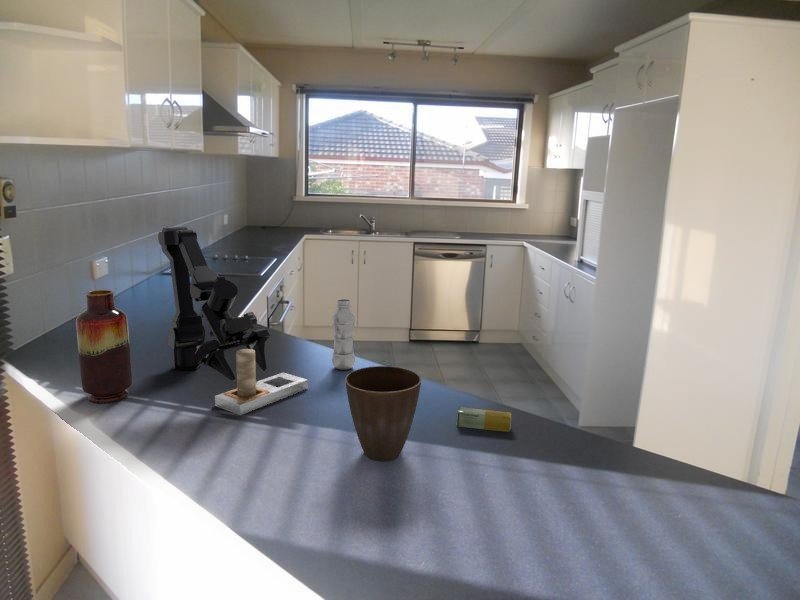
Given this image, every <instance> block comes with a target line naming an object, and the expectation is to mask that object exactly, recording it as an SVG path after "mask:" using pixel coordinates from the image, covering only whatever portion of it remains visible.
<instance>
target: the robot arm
mask: <svg viewBox="0 0 800 600" xmlns="http://www.w3.org/2000/svg"><path fill="white" fill-rule="evenodd" d="M157 236H158V237H157V238H158V244H159V245H160V248H161V251H162V253H163V254H164V255H165V257H167V259H168V260H169V265H170V266H169V267H170V272H171V281H172V289H173V296H174V297H173V298H174V304H175V305H174V306H175V314H174V316H173V319H172V320H171V329H170V330H169V334H168V336H167V344H168V347H170V348H171V349H172V350H173V359H174V366H173V367H172V370H173V371H178V370H179V371H180V370H181V371H183V370H184V371H187V370H190V371H192V370H198V369H199V367H200V366H201V364H203V366H204V367H205V366H206V367H207V366H208V367H209V368H212V369H213V370H215V371H217V372H219V374H222V375H223V376H224V377H225V378H228V379H229V380H230V381H232V382H233V381H235V379H236V376H235V375H234V372H233V370H232V368H231V366H230V364H229V363H228V362H227V359H226V357H225V352H227V351H231V350H235V349H239V348H243V347H246V349H253V350H255V364H256V365H258V366H259V369H261V370H262V371H263V372H266V371H267V360H266V355H265V346H266V344H267V342H268V341H269V339H270V338H271V337H272V335H271V333H270V331H269V330H268V329H266V328H260V329H255V330H253V329H254V326H255V325H257V324H258V319H257V315H256V314H255V313H254V312H253V311H249V312H246V313H244V314H243V316H239V317H236V316H232V315H231V314H230V311H229V310H230V309H231V308H232V305H233V303H234V302H235V299H236V298H237V295H238V291H239V290H238V289H239V288H238V287H237V285H235V283H234V282H233V281H231V280H228V279H226V277H225V276H219V274H218V272H215V271H214V270H213V269H211V268H210V267H209V265H208V263H207V260H206V258H205V255H204V253H203V251H202V249H201V245H200V244H199V241H198V234H197V232H196V231H195V230H193V229H188V227H186V226H182V227H181V226H178V227H177V226H176V227H173V226H172V227H163V228H162V229H161V231H158V234H157ZM190 277H191V278H190ZM194 302H197V303H202V302H204V304H203V305H202V306H201V309H200V315H199V313H197V312H196V311H195V308H194V307H195V306H194ZM203 318H204V319H205V321H206V323H207V324H208V326H209V327H208V328H209V329H210V332H209V333H208V334H209V336H210V337H215V339H212V340H208V341H205V339H206V338H205V336H206V328H205V326H204V324H203ZM249 329H252V331H251V333H249V335H248V336H247V337H244V336H246V334H247V333H248V332H247V331H248V330H249Z"/></svg>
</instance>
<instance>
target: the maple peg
mask: <svg viewBox="0 0 800 600" xmlns="http://www.w3.org/2000/svg"><path fill="white" fill-rule="evenodd" d="M235 360H236V362H235V364H236V365H235V366H236V367H235V368H236V389H237V396H239V397H242V398H245V399H246V398H249V397H251V396H254V395H256V382H257V377H256V376H257V372H256V368H257V367H256V366H257V365H256V361H255V350H253V349H247V348H242V349H238V350H236V351H235Z"/></svg>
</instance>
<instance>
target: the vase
mask: <svg viewBox="0 0 800 600" xmlns="http://www.w3.org/2000/svg"><path fill="white" fill-rule="evenodd" d="M85 297H86V299H85V300H86V309H85V310H84V311H81V312H80V313H79V314H78V316H77V317H76V319H75V325H76V326H75V328H76V339H77V349H78V351H77V352H78V360H79V370H80V379H81V387H82V388H81V389H82V391H83V392H84V393H86V394H88V396H87V400H88V401H89V402H90V403H94V404H110V403H115V402H118V401H119V402H120V401H121V400H124V399H126V398H127V397H128V396H129V395H130V394H129V390H128V389H129V388H130V387H131V386H132V384H133V379H132V378H133V375H132V373H133V372H132V360H131V347H130V335H129V322H128V315H127V314H126V313H125V312H124V311H123V310H122V309H120V308H117V307H116V305H115V297H114V291H113V290H110V289H98V290H91V291H88V292H86V293H85ZM125 397H126V398H125Z"/></svg>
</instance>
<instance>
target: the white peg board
mask: <svg viewBox="0 0 800 600" xmlns="http://www.w3.org/2000/svg"><path fill="white" fill-rule="evenodd" d="M279 385H280V386H279ZM276 386H278V387H276ZM305 389H306V390H308V389H309V379H306V378H303V377H301V376H297V375H294V374H290V373H286V372H281V373H278V374H275V375H272V376H269V377H266V378H263V379H260V380H258V381H257V380H256V395H254V396H251V397H249V398H246V399H245V398H242V397H239V396H237V388H234V389H232V390H231V389H230V390H228V391H226V392H222V393H219V394H216V395H214V406H215V407H217V408H220V409H223V410H225V411H228V412H230V413H233V414H235V415H238V416H243V415H244V414H247V413H250V412H252V410H253V411H254V410H257V409H260V408H263V407H265V406H268V405H271V404H273V403H275V402H279V401H280V399H281V400H284V399H286V398H288V396H289V397H291V396H294V395H296V394H298V392H299V393H301V392H304V391H306V390H305ZM303 390H304V391H303ZM293 394H294V395H293ZM270 403H271V404H270ZM267 404H268V405H267Z"/></svg>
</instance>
